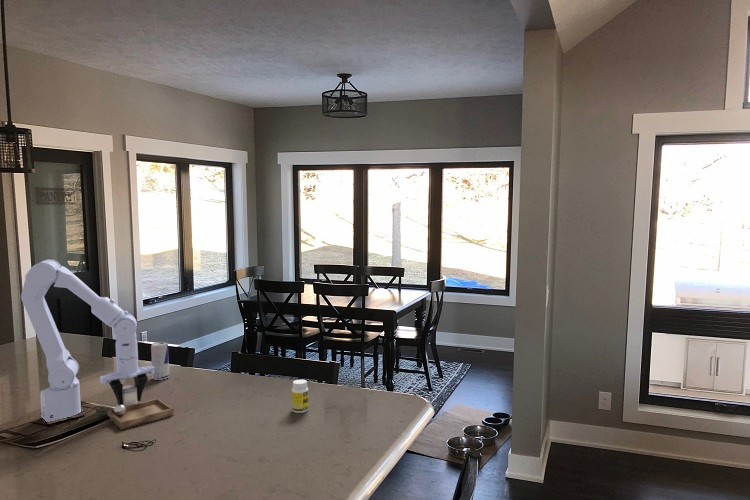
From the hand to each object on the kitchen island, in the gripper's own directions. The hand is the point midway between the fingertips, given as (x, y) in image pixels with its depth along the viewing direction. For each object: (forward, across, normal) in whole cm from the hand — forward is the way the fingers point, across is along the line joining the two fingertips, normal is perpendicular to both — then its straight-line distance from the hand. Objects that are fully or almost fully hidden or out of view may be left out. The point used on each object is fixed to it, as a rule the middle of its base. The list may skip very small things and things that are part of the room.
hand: (129, 402), depth 157 cm
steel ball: (-1, -4, -6) cm, 8 cm away
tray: (+2, 0, -9) cm, 9 cm away
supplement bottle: (+2, +35, -36) cm, 50 cm away
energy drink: (+2, +17, +20) cm, 26 cm away
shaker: (+2, 0, 0) cm, 2 cm away
